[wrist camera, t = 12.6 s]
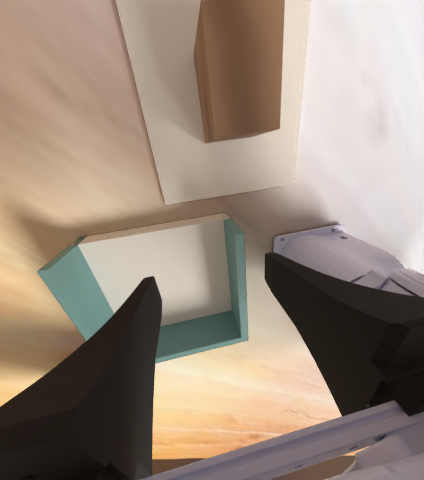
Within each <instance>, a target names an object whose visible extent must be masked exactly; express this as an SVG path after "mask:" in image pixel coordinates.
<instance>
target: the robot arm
mask: <svg viewBox="0 0 424 480" xmlns="http://www.w3.org/2000/svg"><path fill="white" fill-rule="evenodd" d="M332 229H333V230H332ZM343 229H344V226H343V225H341V224H337V225H332V226H327V227H322V228H316V229H311V230H306V231H300V232H295V233H290V234H284V235H279V236H276V237H275V238H274V244H273V252H272V253H267V254H265V280H266V282H267V284H268V286H269V288H270V290H271V292H272V293H273V295H274V296H275V298H276V299H277V300H278V302H279V303H280V305H281V306H282V308H283V309H284V310H285V312H286V313H287V315H288V316H289V317H290V319H291V320H292V322H293V323H294V325H295V326H296V328H297V330H298V331H299V333H300V335H301V337H302V338H303V340H304V342H305V344H306V345H307V347H308V349H309V351H310V353H311V355H312V356H313V358H314V360H315V362H316V364H317V366H318V368H319V370H320V372H321V374H322V376H323V378H324V380H325V381H326V383H327V386H328V388H329V390H330V392H331V394H332V396H333V398H334V400H335V402H336V404H337V406H338V408H339V411H340V413H341V415H342V417H339V418H336V419H333V420H330V421H326V422H323V423H320V424H317V425H314V426H310V427H307V428H304V429H301V430H298V431H294V432H291V433H288V434H285V435H281V436H278V437H275V438H272V439H269V440H265V441H262V442H259V443H256V444H253V445H249V446H246V447H243V448H240V449H237V450H233V451H230V452H227V453H224V454H220V455H217V456H214V457H211V458H208V459H204V460H202V461H198V462H195V463H192V464H189V465H185V466H182V467H179V468H176V469H172V470H169V471H166V472H163V473H160V474H156V475H153V476H152V425H153V394H154V374H155V360H156V352H157V345H158V339H159V332H160V325H161V319H162V298H161V295H160V292H159V289H158V286H157V283H156V280H155V277H154V276H151V277H146V278H143V280H142V281H141V282H140V283H139V285H138V286H137V287H136V288H135V290H134V291H133V292H132V293H131V295H130V296H129V297H128V298H127V300H126V301H125V302H124V303H123V304H122V305H121V307H120V308H119V309H118V310H117V311H116V312H115V313H114V314H113V316H112V317H111V318H110V319H109V320H108V321H107V322H106V323H105V324H104V325H103V326H102V327H101V328H100V329H99V330H98V331H97V332H96V333H95V334H94V335H93V336H92V337H90V338H89V339H88V340H87V341H86V342H85V343H84V344H82V345H81V346H80V347H79V348H78V349H77V350H76V351H74V352H73V353H72V354H71V355H70V356H69V357H67V358H66V359H65V360H64V361H62V362H61V363H60V364H59V365H57V366H56V367H55V368H53V369H52V370H51V371H50V372H48V373H47V374H46V375H44V376H43V377H42V378H40V379H39V380H38V381H36V382H35V383H34V384H32V385H31V386H29V387H28V388H27V389H25V390H24V391H22V392H21V393H19V394H18V395H17V396H15V397H14V398H12V399H11V400H9V401H8V402H7V403H5V404H4V405H2V406H1V407H0V480H270V479H273V478H276V477H279V476H282V475H284V474H287V473H290V472H293V471H296V470H299V469H302V468H305V467H308V466H311V465H314V464H317V463H320V462H323V461H326V460H329V459H332V458H335V457H338V456H341V455H344V454H347V453H350V452H353V451H356V450H359V449H362V448H365V447H368V446H369V447H368V448H366V449H364V450H362V451H360V452H358V453H356V459H355V461H354V462H353V463H352V465H351V466H350V467H349V468H347V469H346V470H345V471H344V472H343V474H342V475H338V476H335V477H331V478H328V479H325V480H424V275H423V274H421V273H419V272H416V271H414V270H411V269H405V268H404V267H403V265H402V264H401V263H400V262H399V261H398V260H397V259H396V258H395V257H394V256H392V255H391V254H389V253H387V252H385V251H383V250H381V249H379V248H377V247H374V246H372V245H370V244H368V243H366V242H363V241H361V240H359V239H357V238H355V237H352V236H350V235H348V234H346V233H344V232H343ZM282 238H283V239H282ZM281 239H282V240H281Z"/></svg>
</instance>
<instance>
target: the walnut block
mask: <svg viewBox="0 0 424 480" xmlns="http://www.w3.org/2000/svg"><path fill="white" fill-rule="evenodd" d="M284 10H285V0H201V2H200V10H199V17H198V24H197V32H196V39H195V46H194V61H195V69H196V77H197V84H198V92H199V100H200V107H201V115H202V123H203V130H204V138H205V144H206V143H213V142H220V141H227V140H234V139H241V138H248V137H254V136H257V135H261V134H264V133H268V132H271V131H275V130H278V129H280V115H281V89H282V63H283V36H284Z"/></svg>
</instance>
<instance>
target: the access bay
mask: <svg viewBox="0 0 424 480" xmlns="http://www.w3.org/2000/svg"><path fill="white" fill-rule="evenodd" d="M37 272H38V274H39V275H40V277H41V278H42V279H43V281H44V282H45V284H46V285H47V286H48V288H49V289H50V291H51V292H52V294H53V295H54V296H55V298H56V299H57V301H58V302H59V303H60V305H61V306H62V308H63V309H64V311H65V312H66V313H67V315H68V316H69V318H70V319H71V320H72V322H73V323H74V325H75V326H76V328H77V329H78V330H79V332H80V333H81V335H82V336H83V337H84V339H85V340H86V341H87V340H88V339H89V338H90V337H92V336H93V335H94V334H95V333H96V332H97V331H98V330H99V329H100V328H101V327H102V326H103V325H104V324H105V323H106V322H107V321H108V320H109V319H110V318H111V317H112V316H113V314H114V313H115V312H116V311H117V310H118V309H119V308H120V307H121V305H122V304H123V303H124V302H125V301H126V300H127V298H128V297H129V296H130V295H131V293H132V292H133V291H134V290H135V288H136V287H137V286H138V285H139V283H140V282H141V281H142V280H143V278H146V277H151V276H154V277H155V280H156V283H157V286H158V289H159V292H160V295H161V298H162V319H161V325H160V332H159V339H158V345H157V352H156V360H155V363H159V362H163V361H167V360H171V359H175V358H179V357H183V356H187V355H191V354H195V353H199V352H203V351H207V350H211V349H215V348H220V347H224V346H228V345H232V344H236V343H240V342H244V341H248V319H247V293H246V267H245V241H244V233H243V232H242V230H241V229H240V228H239V227H238V226H237V225H236V223H235V222H234V221H233V220H232V219H231V218H230V216H229V215H228V214H227V213H221V214H215V215H209V216H204V217H198V218H192V219H186V220H180V221H174V222H168V223H162V224H156V225H150V226H144V227H138V228H133V229H127V230H121V231H115V232H109V233H103V234H97V235H91V236H85V237H80V238H78V239H77V240H76V241H75V242H73V243H72V244H71V245H70V246H68V247H67V248H66V249H65V250H63V251H62V252H61V253H60V254H58V255H57V256H56V257H55V258H53V259H52V260H51V261H50V262H48V263H47V264H46V265H44V266H43V267H42V268H41V269H39V270H38V271H37Z"/></svg>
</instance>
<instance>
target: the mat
mask: <svg viewBox="0 0 424 480" xmlns="http://www.w3.org/2000/svg"><path fill="white" fill-rule="evenodd" d="M200 2H201V0H116V4H117V9H118V13H119V17H120V21H121V25H122V29H123V33H124V37H125V41H126V46H127V50H128V54H129V58H130V62H131V66H132V70H133V74H134V78H135V82H136V87H137V91H138V95H139V99H140V103H141V107H142V111H143V115H144V119H145V124H146V128H147V132H148V136H149V140H150V144H151V148H152V152H153V156H154V160H155V165H156V169H157V173H158V177H159V181H160V185H161V189H162V193H163V197H164V202H165V205H169V204H175V203H181V202H188V201H194V200H200V199H207V198H213V197H219V196H226V195H232V194H238V193H244V192H251V191H257V190H263V189H270V188H276V187H282V186H288V185H294V179H295V168H296V157H297V146H298V135H299V124H300V113H301V102H302V91H303V80H304V69H305V58H306V47H307V36H308V25H309V14H310V3H311V0H285V10H284V36H283V63H282V89H281V115H280V129H278V130H275V131H271V132H268V133H264V134H261V135H257V136H254V137H248V138H241V139H234V140H227V141H220V142H213V143H206V144H205V138H204V130H203V123H202V115H201V107H200V100H199V92H198V84H197V77H196V69H195V61H194V46H195V39H196V32H197V24H198V17H199V10H200Z"/></svg>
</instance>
